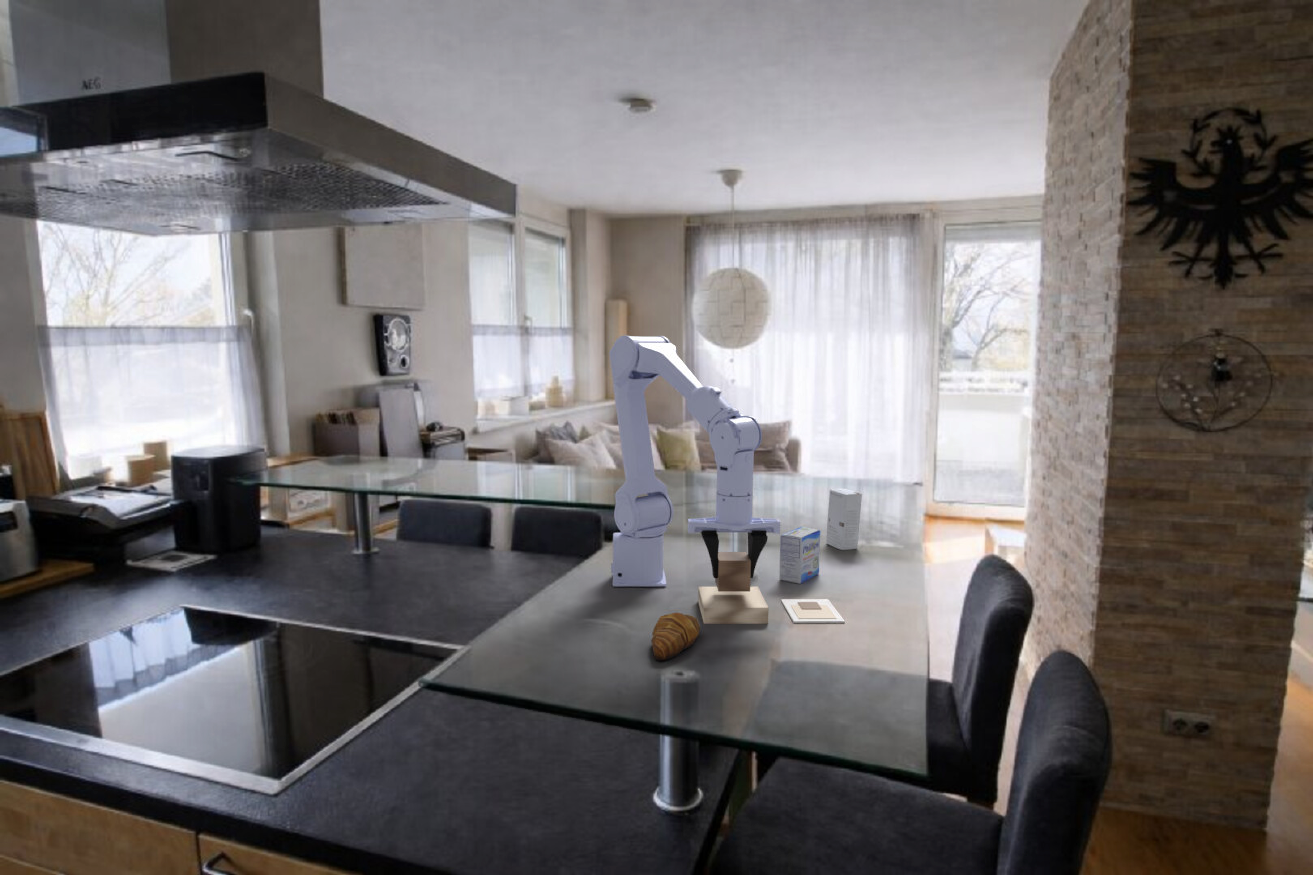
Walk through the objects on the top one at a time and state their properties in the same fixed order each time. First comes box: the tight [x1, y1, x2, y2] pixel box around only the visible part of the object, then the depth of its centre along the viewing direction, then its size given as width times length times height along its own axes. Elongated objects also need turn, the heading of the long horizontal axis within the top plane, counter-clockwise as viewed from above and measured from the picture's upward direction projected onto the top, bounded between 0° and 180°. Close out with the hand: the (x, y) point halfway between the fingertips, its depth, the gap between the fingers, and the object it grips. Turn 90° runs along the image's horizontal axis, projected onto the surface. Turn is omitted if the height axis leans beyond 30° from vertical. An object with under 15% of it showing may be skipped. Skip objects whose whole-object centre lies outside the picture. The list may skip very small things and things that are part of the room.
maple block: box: [697, 586, 769, 625], centre depth 122 cm, size 10×10×3 cm
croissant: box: [651, 611, 701, 661], centre depth 108 cm, size 14×7×5 cm, turn 157°
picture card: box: [780, 598, 846, 624], centre depth 122 cm, size 8×10×1 cm
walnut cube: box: [714, 551, 751, 592], centre depth 121 cm, size 5×5×5 cm
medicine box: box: [779, 526, 821, 585], centre depth 139 cm, size 8×4×9 cm, turn 143°
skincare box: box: [825, 487, 863, 551], centre depth 161 cm, size 6×4×12 cm
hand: (732, 576), depth 121 cm, fingers closed on walnut cube, 5 cm apart
